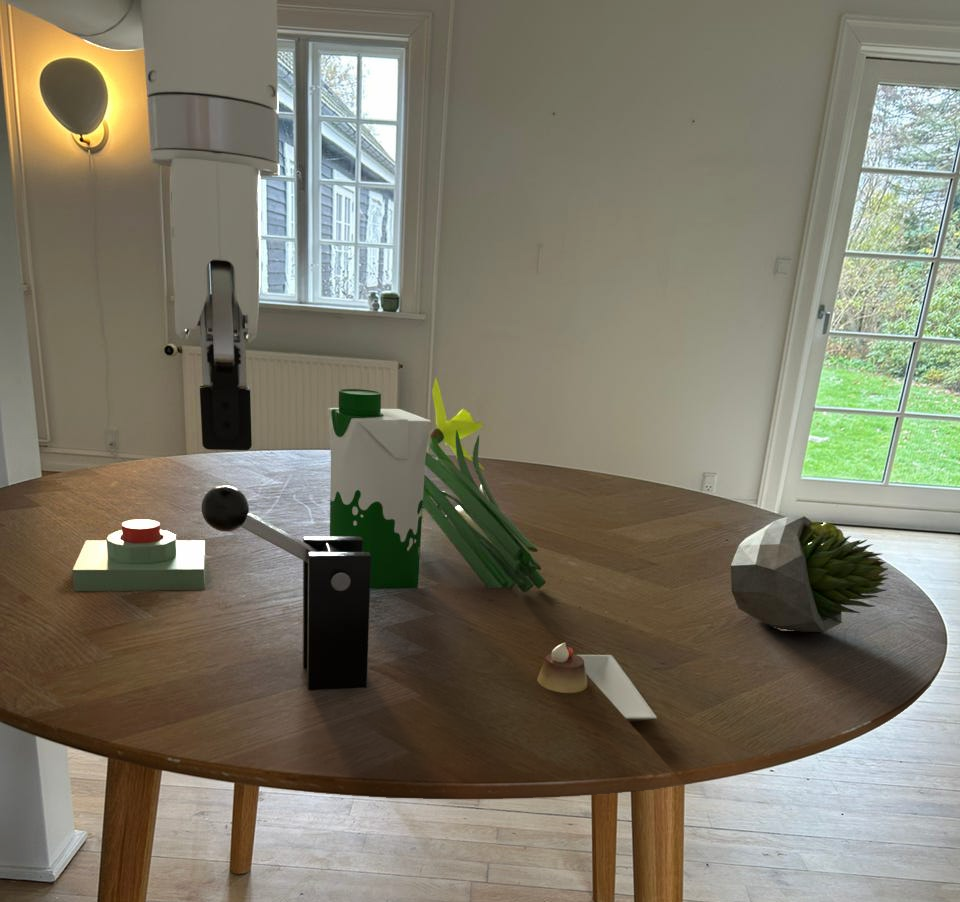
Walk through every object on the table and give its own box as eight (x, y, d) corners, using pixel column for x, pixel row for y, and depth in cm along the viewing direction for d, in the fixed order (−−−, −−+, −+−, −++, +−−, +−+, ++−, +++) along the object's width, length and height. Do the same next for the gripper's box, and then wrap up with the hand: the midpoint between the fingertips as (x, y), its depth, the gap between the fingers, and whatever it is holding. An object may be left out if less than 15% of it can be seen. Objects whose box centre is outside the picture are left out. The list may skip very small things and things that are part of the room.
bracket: (257, 720, 64) (254, 565, 59) (252, 669, 72) (250, 528, 67) (419, 712, 67) (428, 564, 63) (398, 663, 75) (405, 529, 71)
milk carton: (318, 578, 94) (320, 385, 86) (396, 571, 98) (404, 386, 91) (349, 606, 87) (354, 398, 79) (431, 597, 91) (443, 399, 84)
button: (121, 545, 87) (119, 528, 86) (124, 535, 90) (123, 519, 90) (159, 545, 88) (158, 528, 87) (161, 535, 91) (160, 519, 91)
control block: (73, 591, 85) (69, 551, 83) (87, 560, 93) (84, 523, 92) (204, 590, 88) (203, 551, 86) (205, 559, 97) (204, 524, 95)
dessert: (610, 666, 78) (617, 615, 76) (655, 731, 67) (665, 674, 65) (476, 665, 76) (481, 613, 74) (501, 731, 65) (507, 672, 63)
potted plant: (767, 565, 100) (911, 561, 91) (741, 659, 95) (891, 665, 86) (735, 494, 92) (889, 481, 83) (705, 593, 87) (866, 591, 78)
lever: (192, 522, 60) (215, 482, 59) (193, 510, 63) (215, 472, 62) (343, 602, 65) (366, 566, 64) (338, 588, 68) (360, 553, 67)
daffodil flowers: (425, 611, 90) (323, 453, 114) (514, 656, 100) (403, 503, 124) (533, 483, 86) (404, 347, 109) (615, 544, 96) (480, 408, 119)
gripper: (157, 149, 59) (174, 428, 66) (139, 116, 46) (163, 469, 52) (272, 161, 61) (277, 430, 68) (287, 133, 48) (291, 471, 54)
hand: (227, 447), depth 60 cm, fingers closed
